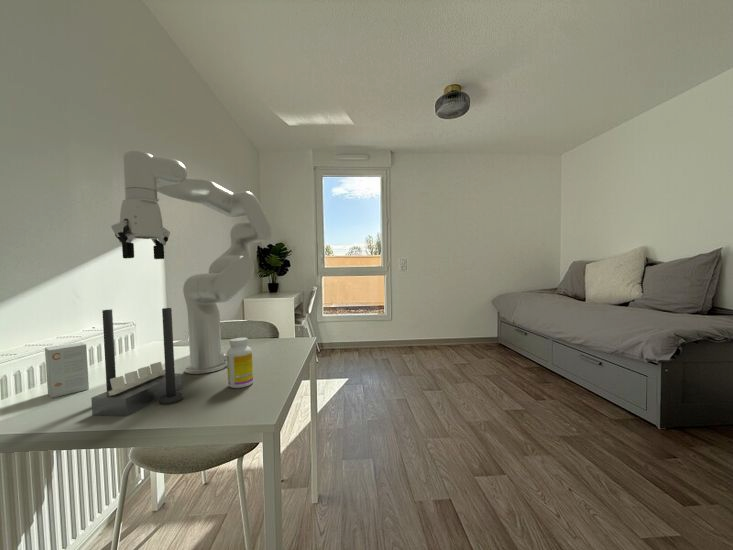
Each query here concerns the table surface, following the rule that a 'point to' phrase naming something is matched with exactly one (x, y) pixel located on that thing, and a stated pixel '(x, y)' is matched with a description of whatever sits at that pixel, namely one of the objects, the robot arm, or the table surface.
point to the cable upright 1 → (109, 347)
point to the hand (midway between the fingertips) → (144, 258)
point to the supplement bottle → (239, 363)
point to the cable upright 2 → (169, 361)
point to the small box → (66, 369)
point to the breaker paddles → (135, 378)
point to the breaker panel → (132, 397)
